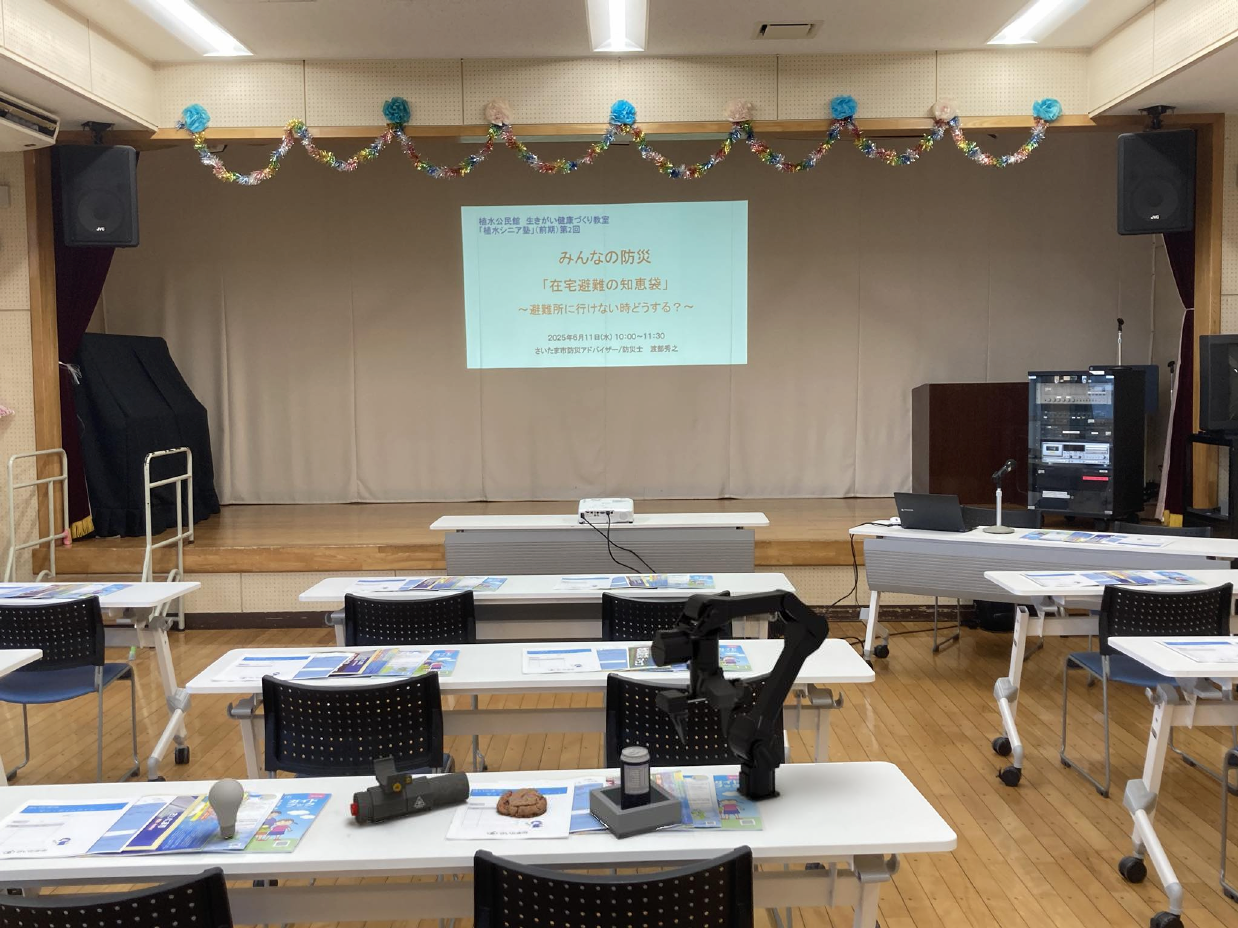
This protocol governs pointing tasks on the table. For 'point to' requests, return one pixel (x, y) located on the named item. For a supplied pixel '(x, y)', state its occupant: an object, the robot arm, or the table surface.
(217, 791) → the lightbulb
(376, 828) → the table surface
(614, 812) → the can bin
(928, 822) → the table surface
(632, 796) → the beverage can
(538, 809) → the cookie
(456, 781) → the laser sight
